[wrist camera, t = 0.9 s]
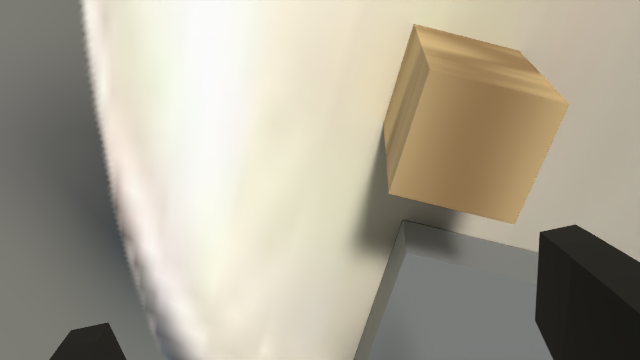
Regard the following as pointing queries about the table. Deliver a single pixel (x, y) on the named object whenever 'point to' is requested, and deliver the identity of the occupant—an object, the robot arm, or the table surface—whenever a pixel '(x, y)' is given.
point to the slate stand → (454, 301)
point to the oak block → (468, 125)
